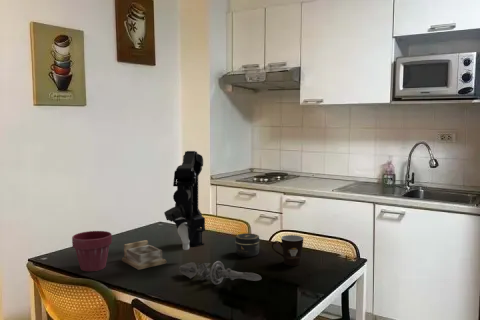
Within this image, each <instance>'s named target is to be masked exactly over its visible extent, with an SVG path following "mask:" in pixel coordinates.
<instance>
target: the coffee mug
mask: <svg viewBox="0 0 480 320" xmlns="http://www.w3.org/2000/svg"><path fill="white" fill-rule="evenodd" d="M277 243H278V244H279V245H280V246H281V248H282V249H281V250H282V253H281V252H279V251H277V250H276V248H274V244H277ZM303 245H304V237H303V236H302V235H295V234H290V235H289V234H288V235H287V234H286V235H282V236H281V241H279V240H275V241H273V242H272V244H271V248H272V250H273V251H274V252H275V253H276V254H278V255H279V256H281V257H282V258H283V264H284V265H286V266H291V267H292V266H299V265H301V261H302V255H303Z"/></svg>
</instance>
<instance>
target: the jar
mask: <svg viewBox="0 0 480 320" xmlns="http://www.w3.org/2000/svg"><path fill="white" fill-rule="evenodd" d="M234 240H235V241H234V242H235V253H236V254H237V256H239V257H242V258H253V257H256V256H257V255H258V254H260V253H259V252H260V236H259V235H258V234H255V233H248V232H247V233H245V232H244V233H239V234H237V235H235V239H234Z"/></svg>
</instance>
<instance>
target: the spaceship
mask: <svg viewBox="0 0 480 320" xmlns="http://www.w3.org/2000/svg"><path fill="white" fill-rule="evenodd" d="M211 264H212V262H211V263H210V262H207V263H206V262H204V263H199V262H198V263H197V264H196V263H195V262H194V261H191V262H187V263H184V264H182V265H181V264H180V265H179V269H180V270H179V272H180V273H181V274H182V275H184V276H186V277H187V278H189V279H192V278H194V277H195V276H196V275H197V276H198V277H197V278H196V280H197V281H204V280H205V279H206V280H210V281H211V283H212V284H214V285H221V283H223V280H224V279H226V278H227V279H229V280H231V281H234V280H235V279H243V280H247V281H252V282H253V281H255V282H257V281H262V277H263V276H261V275H260V274H257V273H254V272H246V271H245V272H241V271H236V270H232V269H231V268H230V267H229V268H228V267H227V268H226V269H225V265H224V264H223V262H222V261H220V260H217V261H215V262H214V263H213V264H212V265H211ZM210 265H211V267H208V266H210ZM197 267H198V268H197Z"/></svg>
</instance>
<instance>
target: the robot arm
mask: <svg viewBox="0 0 480 320" xmlns="http://www.w3.org/2000/svg"><path fill="white" fill-rule="evenodd" d="M203 167H204V158H203V155H202V154H199V153H198V151H196V150H186V151H184V154H183V156H182V163H181V164H180V165H178V166H177V167H176V169H175V170H174V175H173V183H172V186H173V187H176V190H175V191H174V193H173V195H172V198H173V201H174V203H175V204H174V206H173V207H171V208H169V209H168V210H166V211H164V217H165V218H166V219H165V220H166V221H169V222H173V223H174V224H175V226H176V228H177V230H178V227H179V225H180V224H182V223H184V222H187V224H184V225H185V226H186V227H187V228H188V237H189V240H190V242H189V247H193V248H194V247H198V246H202V245H205V242H203V232H206V218H205V217H204V215H202V213H201V210H200V209H199V175H200V174H201V172H202V170H203Z"/></svg>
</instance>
